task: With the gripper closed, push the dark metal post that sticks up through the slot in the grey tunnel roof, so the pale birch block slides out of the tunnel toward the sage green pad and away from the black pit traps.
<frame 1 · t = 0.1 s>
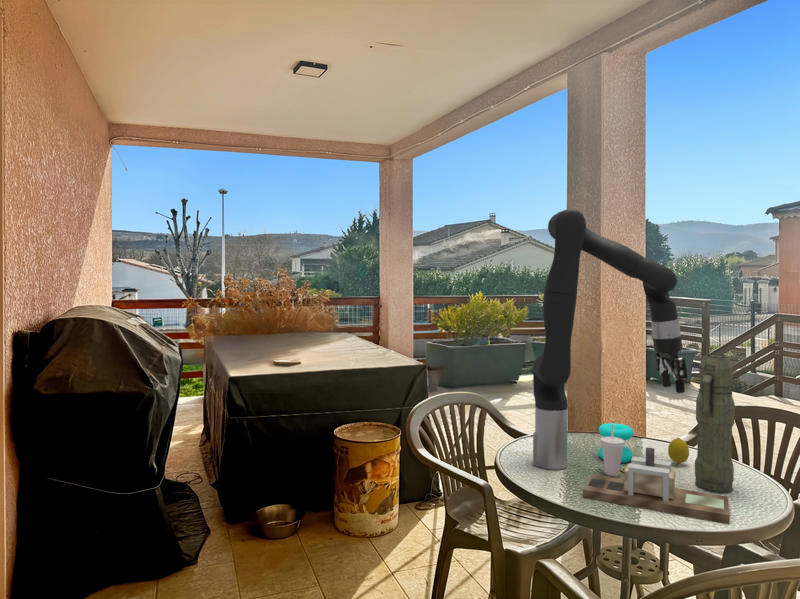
hand: (673, 389, 162), 22 cm above the table, tool pointing down, fingers open, 8 cm apart
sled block: (649, 469, 137), point 8 cm above the table, slide at 0.0 cm
lemon: (678, 465, 163), on the table
tunnel: (649, 499, 137), resting on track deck
donuts: (615, 459, 169), on the table
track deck: (653, 500, 137), on the table
green stone statue: (713, 487, 145), on the table
smoothie: (612, 474, 156), on the table
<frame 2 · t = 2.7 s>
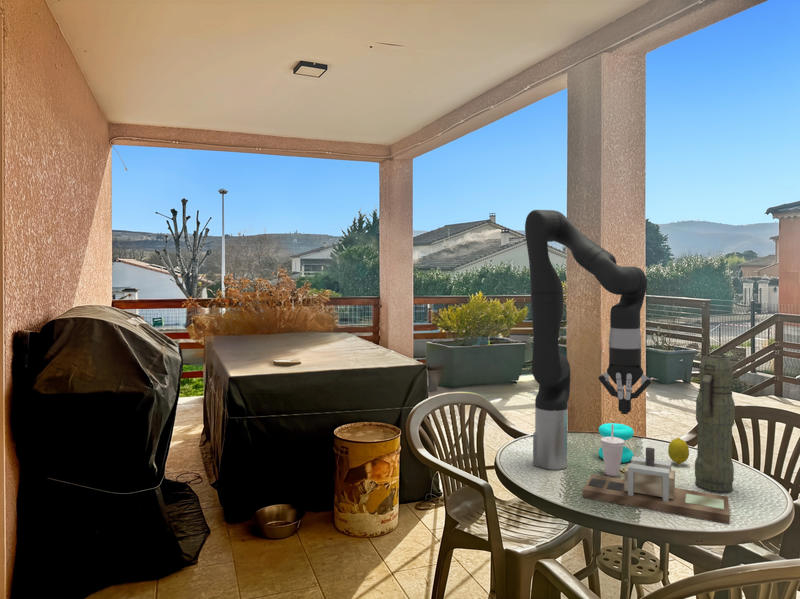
hand: (624, 413, 140), 21 cm above the table, tool pointing down, fingers closed
nothing on the table moved.
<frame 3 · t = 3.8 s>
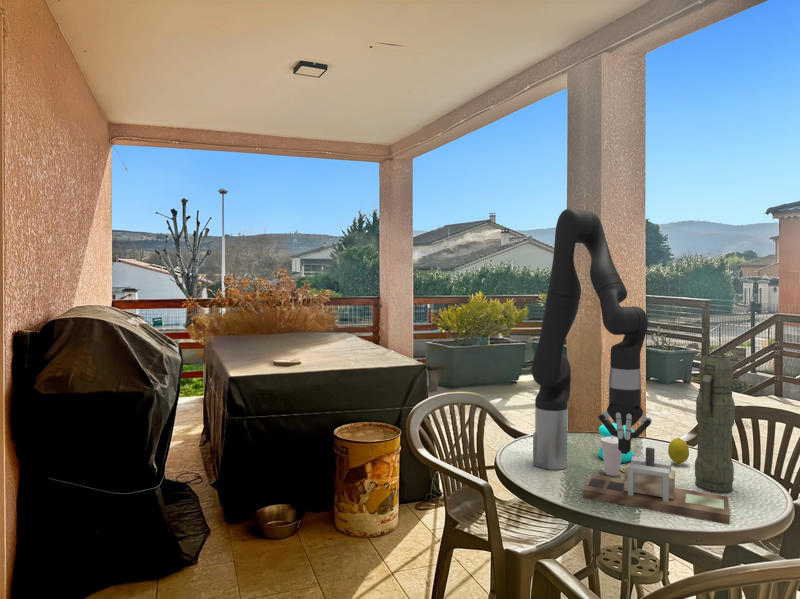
hand: (624, 452, 140), 11 cm above the table, tool pointing down, fingers closed
nothing on the table moved.
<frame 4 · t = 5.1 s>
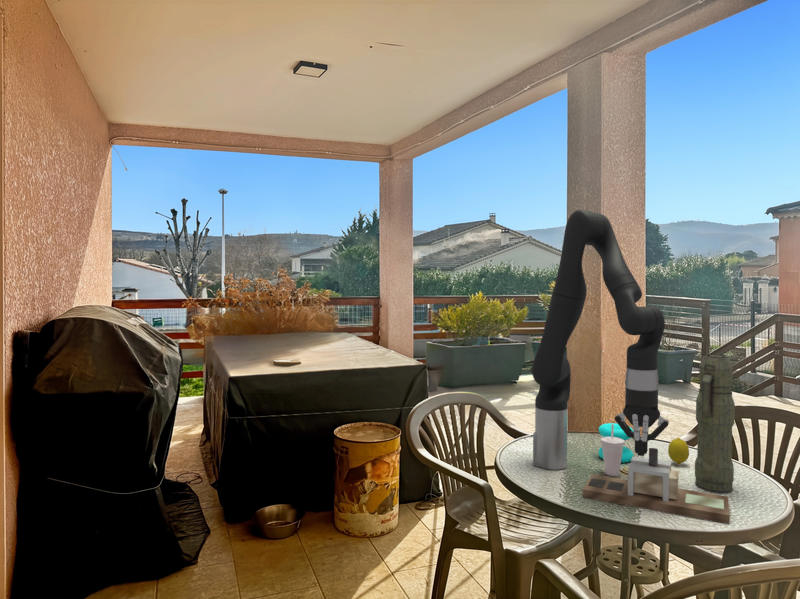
hand: (641, 454, 138), 11 cm above the table, tool pointing down, fingers closed
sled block: (653, 470, 137), point 8 cm above the table, slide at 0.8 cm, touching gripper
everything else where it was.
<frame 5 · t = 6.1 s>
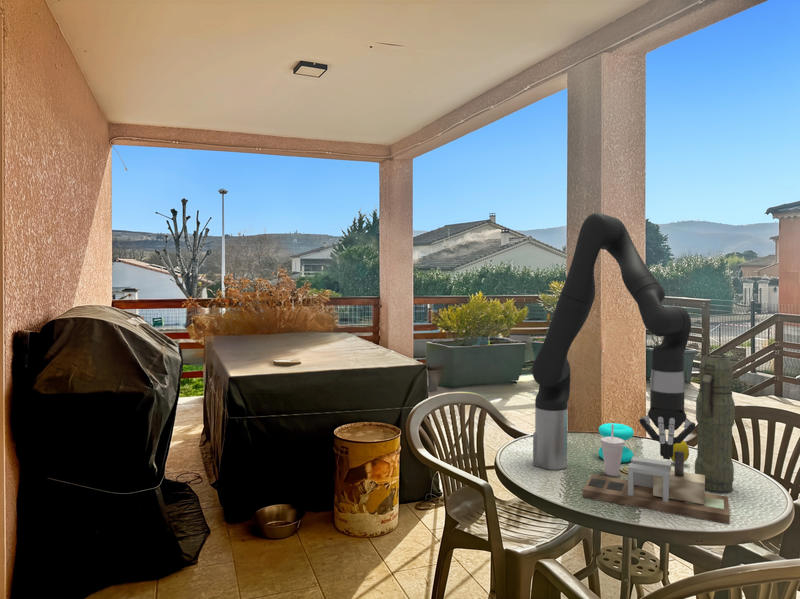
hand: (666, 458, 135), 11 cm above the table, tool pointing down, fingers closed
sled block: (679, 474, 134), point 8 cm above the table, slide at 6.5 cm, touching gripper
everything else where it was.
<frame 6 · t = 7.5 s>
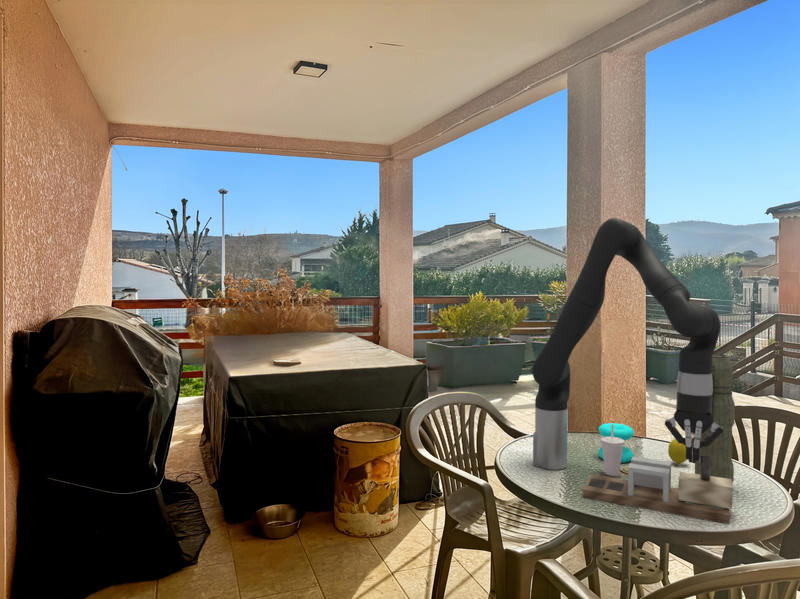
hand: (692, 461, 132), 11 cm above the table, tool pointing down, fingers closed
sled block: (705, 478, 131), point 8 cm above the table, slide at 12.1 cm, touching gripper
everything else where it was.
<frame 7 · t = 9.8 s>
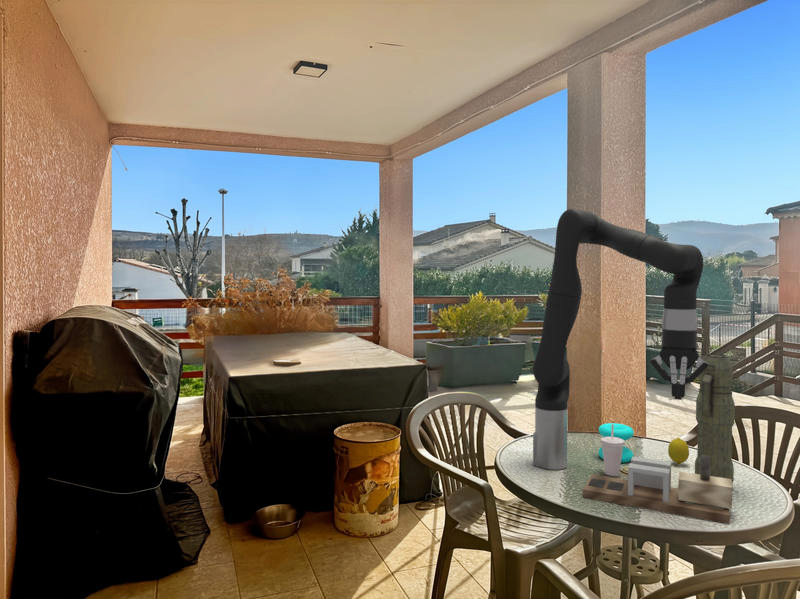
hand: (677, 398, 133), 26 cm above the table, tool pointing down, fingers closed
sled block: (704, 478, 131), point 8 cm above the table, slide at 12.0 cm
everything else where it was.
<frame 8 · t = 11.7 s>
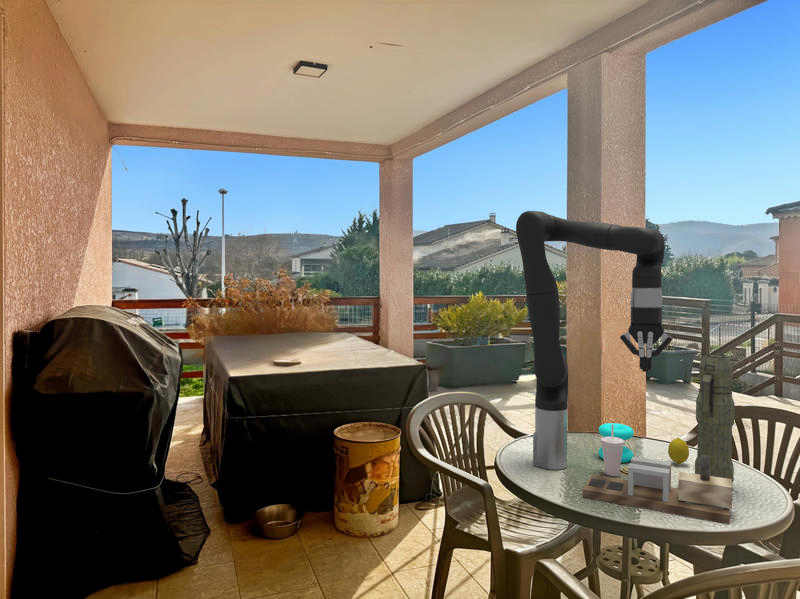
hand: (645, 371, 144), 31 cm above the table, tool pointing down, fingers closed
nothing on the table moved.
at the end: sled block slide at 12.0 cm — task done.
